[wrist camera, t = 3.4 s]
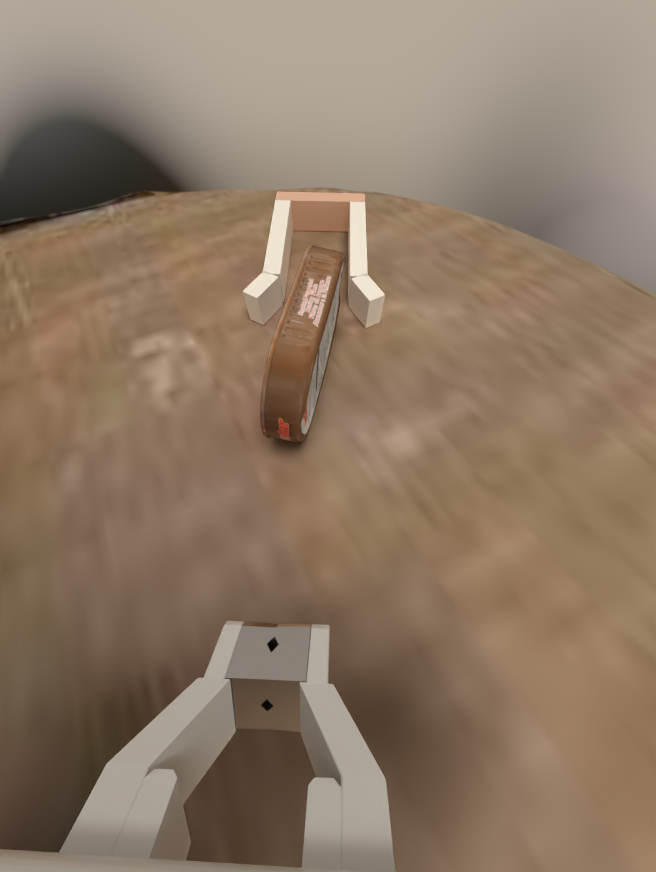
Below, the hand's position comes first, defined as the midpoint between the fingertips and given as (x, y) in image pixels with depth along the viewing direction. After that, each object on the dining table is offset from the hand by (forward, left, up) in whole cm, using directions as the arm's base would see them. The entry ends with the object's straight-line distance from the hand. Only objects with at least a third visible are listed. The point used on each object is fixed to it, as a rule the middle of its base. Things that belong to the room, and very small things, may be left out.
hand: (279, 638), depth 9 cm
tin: (0, +17, -11) cm, 21 cm away
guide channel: (0, +31, -11) cm, 33 cm away
